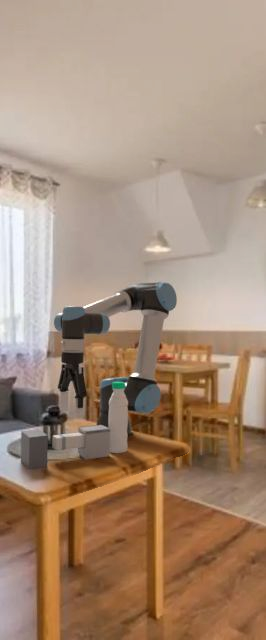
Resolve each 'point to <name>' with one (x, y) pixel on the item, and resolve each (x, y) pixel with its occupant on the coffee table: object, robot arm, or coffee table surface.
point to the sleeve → (95, 442)
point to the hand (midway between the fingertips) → (71, 414)
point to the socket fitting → (34, 448)
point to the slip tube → (68, 441)
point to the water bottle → (118, 418)
